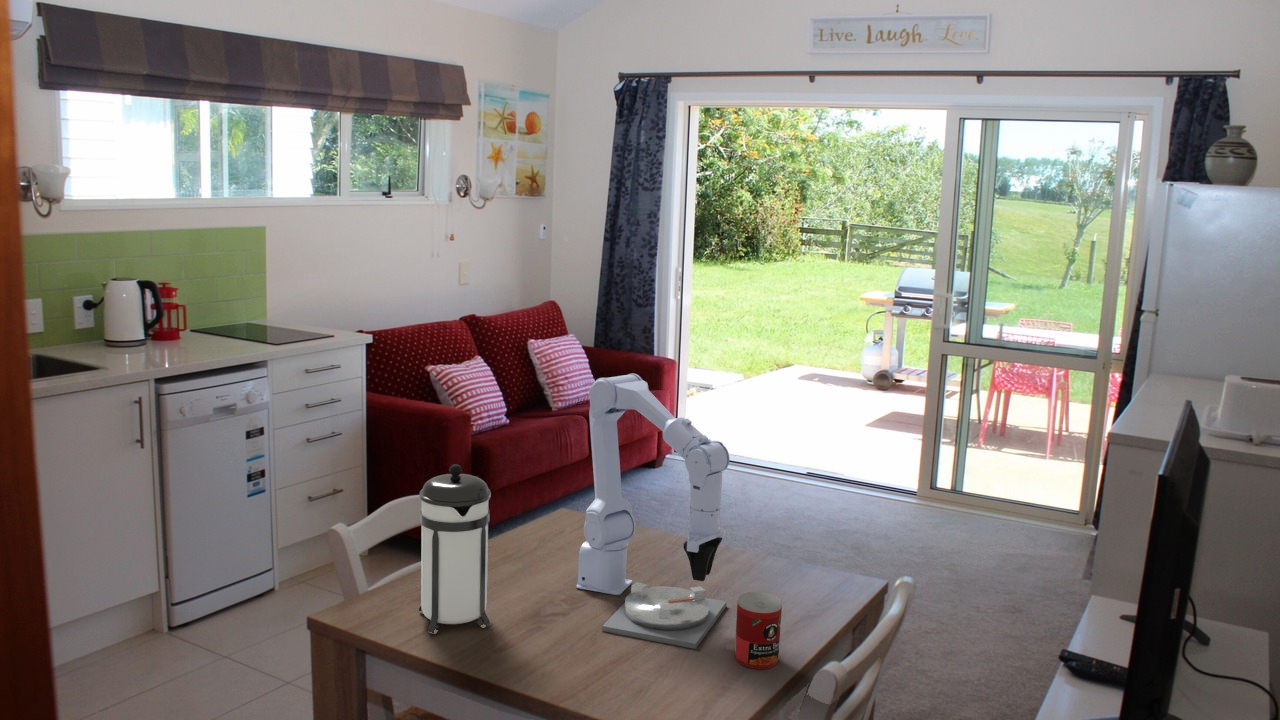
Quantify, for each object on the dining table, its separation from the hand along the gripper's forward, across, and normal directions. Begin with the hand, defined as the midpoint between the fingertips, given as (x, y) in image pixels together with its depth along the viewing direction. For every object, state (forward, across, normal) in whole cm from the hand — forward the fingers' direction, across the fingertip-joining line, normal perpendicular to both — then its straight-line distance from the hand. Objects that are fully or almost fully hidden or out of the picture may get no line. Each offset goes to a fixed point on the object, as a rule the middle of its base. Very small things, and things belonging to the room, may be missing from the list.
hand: (701, 576), depth 193 cm
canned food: (+10, -10, -14) cm, 19 cm away
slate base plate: (+9, 0, +6) cm, 11 cm away
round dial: (+8, 0, +6) cm, 10 cm away
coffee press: (+10, -17, +44) cm, 48 cm away
